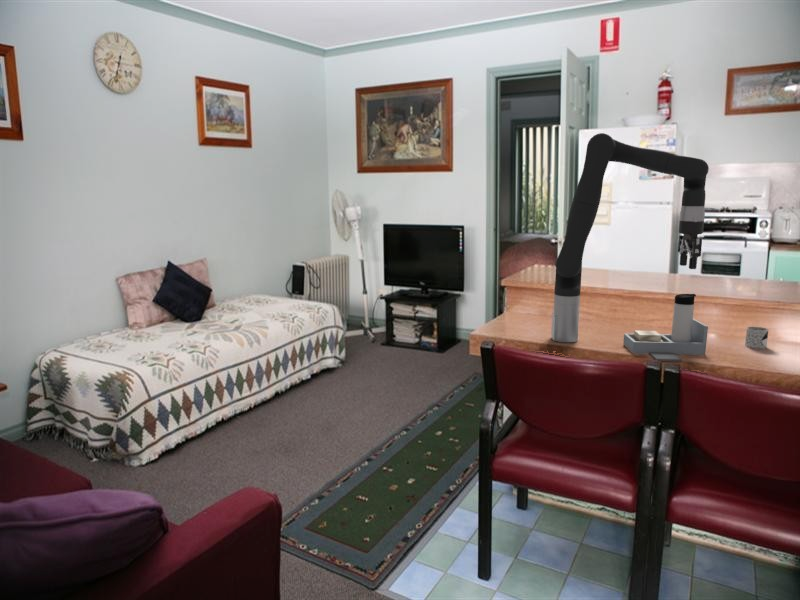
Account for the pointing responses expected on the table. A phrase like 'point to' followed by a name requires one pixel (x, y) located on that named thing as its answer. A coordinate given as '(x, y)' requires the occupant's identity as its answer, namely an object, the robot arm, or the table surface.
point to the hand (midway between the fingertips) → (687, 267)
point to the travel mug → (682, 318)
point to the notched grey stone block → (756, 337)
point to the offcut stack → (647, 336)
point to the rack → (667, 346)
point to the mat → (665, 356)
